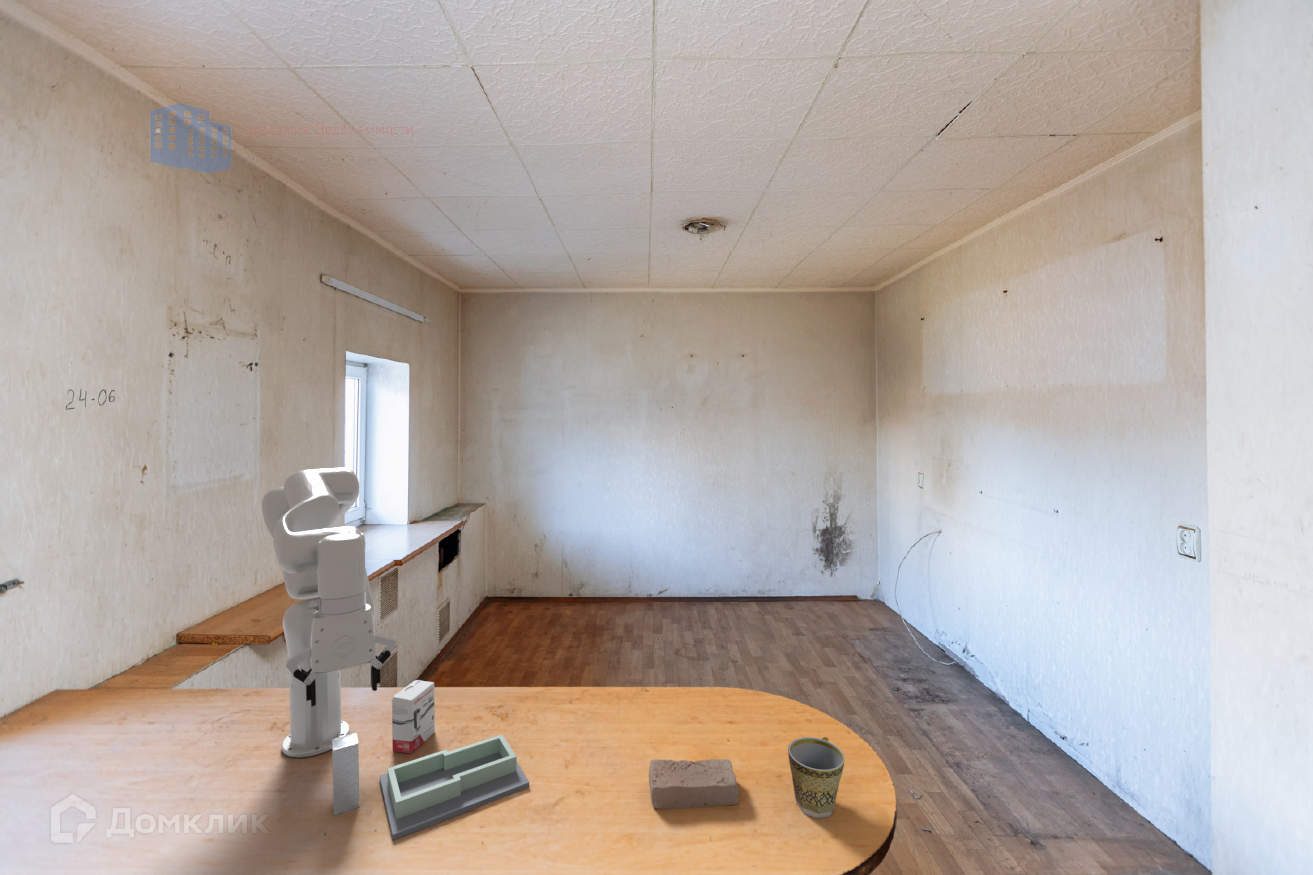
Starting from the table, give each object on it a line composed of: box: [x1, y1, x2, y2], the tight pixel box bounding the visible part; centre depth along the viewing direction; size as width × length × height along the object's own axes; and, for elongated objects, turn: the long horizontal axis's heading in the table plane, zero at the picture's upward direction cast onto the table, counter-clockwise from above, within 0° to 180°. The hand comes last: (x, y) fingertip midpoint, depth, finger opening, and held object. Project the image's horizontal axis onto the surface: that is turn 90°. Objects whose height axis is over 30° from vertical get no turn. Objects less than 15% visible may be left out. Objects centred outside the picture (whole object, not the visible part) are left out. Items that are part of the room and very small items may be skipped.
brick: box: [648, 758, 740, 810], centre depth 103 cm, size 16×8×5 cm, turn 94°
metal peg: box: [331, 732, 360, 816], centre depth 99 cm, size 4×4×12 cm
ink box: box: [391, 679, 436, 754], centre depth 119 cm, size 9×5×12 cm, turn 168°
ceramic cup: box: [787, 736, 845, 819], centre depth 101 cm, size 13×10×10 cm
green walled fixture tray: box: [379, 733, 530, 841], centre depth 105 cm, size 18×24×4 cm
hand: (344, 695), depth 99 cm, fingers open, 9 cm apart
